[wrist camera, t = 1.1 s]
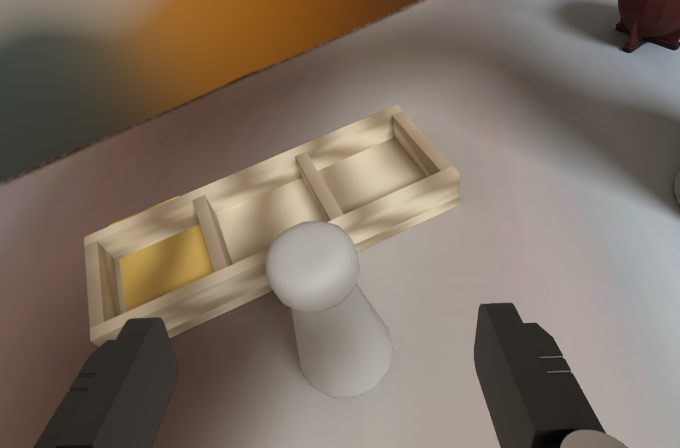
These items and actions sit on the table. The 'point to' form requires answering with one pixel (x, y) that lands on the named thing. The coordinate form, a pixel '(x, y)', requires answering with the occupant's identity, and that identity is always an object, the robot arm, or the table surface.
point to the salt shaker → (329, 309)
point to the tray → (262, 223)
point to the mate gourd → (650, 23)
